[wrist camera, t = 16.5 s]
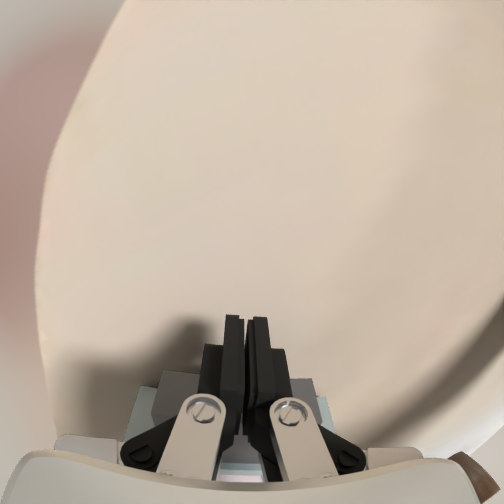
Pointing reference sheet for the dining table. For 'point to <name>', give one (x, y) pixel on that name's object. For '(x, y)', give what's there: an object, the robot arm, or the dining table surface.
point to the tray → (147, 423)
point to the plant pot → (477, 476)
